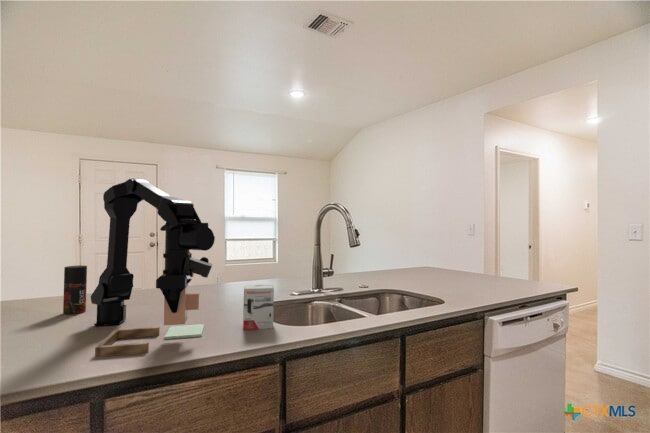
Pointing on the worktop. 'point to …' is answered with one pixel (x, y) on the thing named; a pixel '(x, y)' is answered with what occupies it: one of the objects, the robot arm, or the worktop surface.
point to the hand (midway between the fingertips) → (176, 310)
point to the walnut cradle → (108, 349)
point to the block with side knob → (181, 308)
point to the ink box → (258, 306)
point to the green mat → (184, 331)
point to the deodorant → (74, 290)
